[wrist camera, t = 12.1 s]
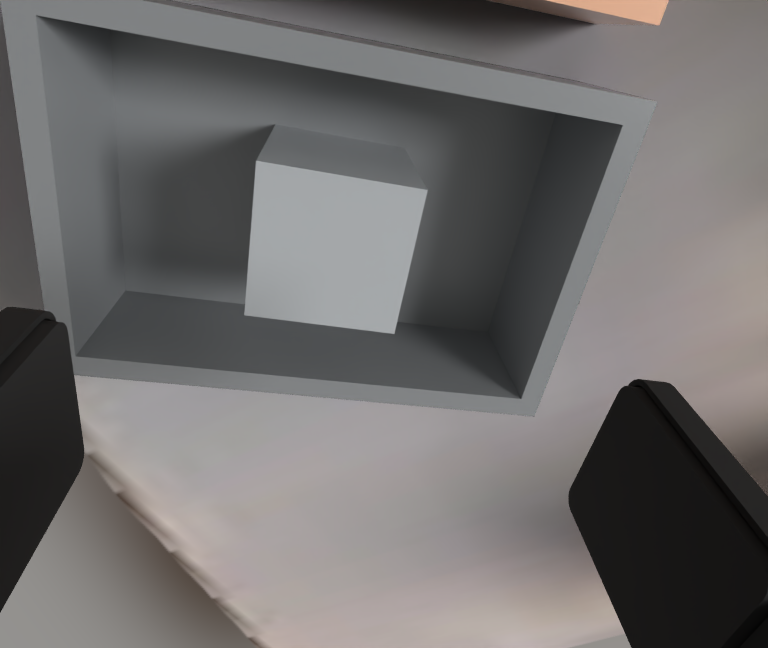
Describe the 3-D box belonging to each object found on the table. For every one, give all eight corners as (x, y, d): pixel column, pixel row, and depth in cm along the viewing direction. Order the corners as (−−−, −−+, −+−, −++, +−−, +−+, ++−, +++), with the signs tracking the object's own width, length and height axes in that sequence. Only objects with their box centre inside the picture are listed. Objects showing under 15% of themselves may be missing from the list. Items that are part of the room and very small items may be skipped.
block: (275, 124, 20) (255, 160, 15) (404, 147, 21) (427, 190, 16) (264, 247, 23) (244, 315, 17) (380, 264, 24) (394, 333, 18)
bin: (91, -16, 18) (-5, -29, 13) (578, 81, 21) (657, 101, 16) (113, 296, 24) (52, 373, 19) (495, 339, 27) (534, 416, 22)
